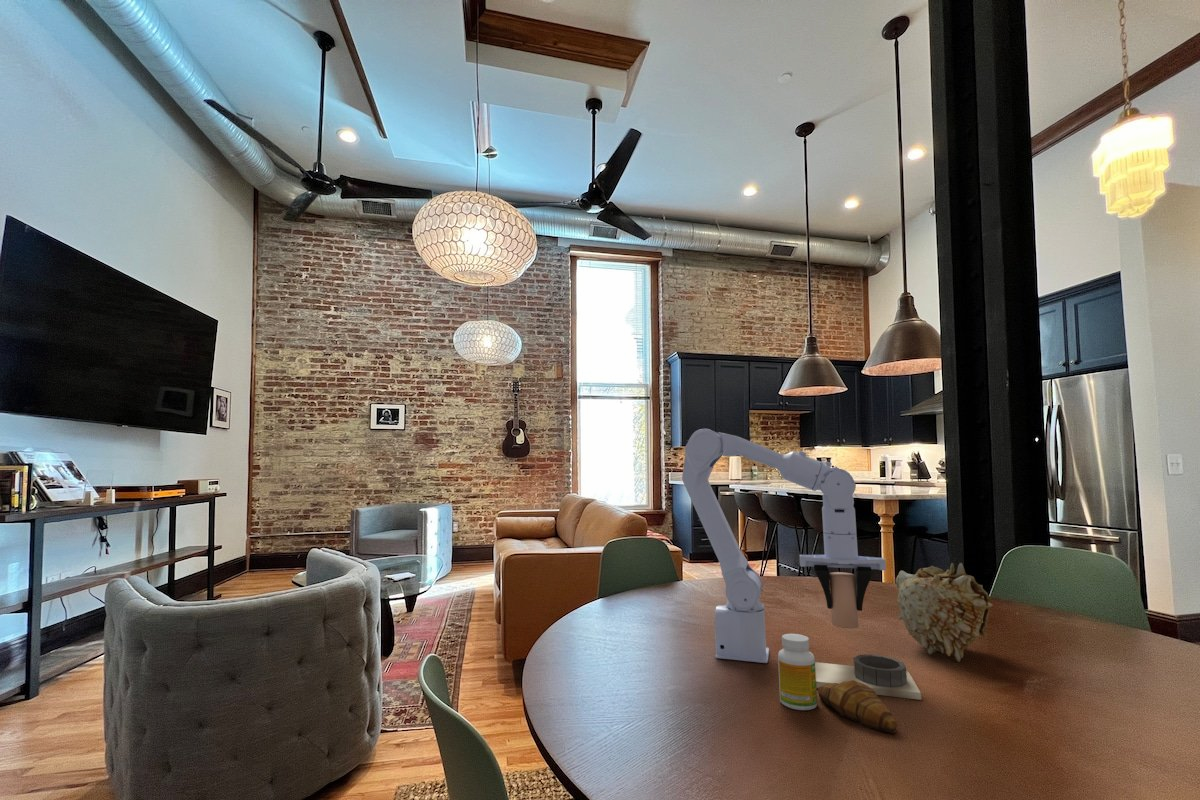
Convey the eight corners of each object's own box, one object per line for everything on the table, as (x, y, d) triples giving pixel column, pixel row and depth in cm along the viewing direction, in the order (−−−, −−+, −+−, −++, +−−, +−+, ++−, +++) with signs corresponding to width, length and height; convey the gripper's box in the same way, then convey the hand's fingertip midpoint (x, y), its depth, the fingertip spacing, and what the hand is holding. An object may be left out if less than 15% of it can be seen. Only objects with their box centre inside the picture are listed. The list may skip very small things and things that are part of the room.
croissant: (913, 732, 75) (910, 694, 76) (876, 741, 73) (873, 701, 73) (838, 695, 88) (836, 662, 88) (804, 702, 85) (802, 668, 86)
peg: (833, 627, 99) (830, 576, 100) (831, 621, 103) (828, 571, 105) (860, 629, 98) (856, 577, 99) (856, 622, 102) (853, 572, 103)
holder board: (784, 684, 91) (783, 662, 92) (785, 664, 100) (784, 644, 101) (921, 699, 85) (919, 675, 85) (908, 677, 94) (907, 656, 94)
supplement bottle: (820, 712, 81) (816, 643, 82) (782, 709, 82) (779, 641, 83) (814, 697, 86) (810, 632, 87) (778, 695, 87) (775, 631, 88)
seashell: (982, 563, 99) (1006, 566, 108) (880, 556, 112) (909, 560, 122) (993, 671, 94) (1017, 665, 104) (885, 651, 108) (915, 647, 117)
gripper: (799, 534, 101) (803, 610, 100) (886, 536, 97) (892, 616, 95) (798, 530, 108) (801, 601, 106) (879, 532, 103) (885, 607, 102)
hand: (844, 608), depth 101 cm, fingers closed on peg, 4 cm apart
